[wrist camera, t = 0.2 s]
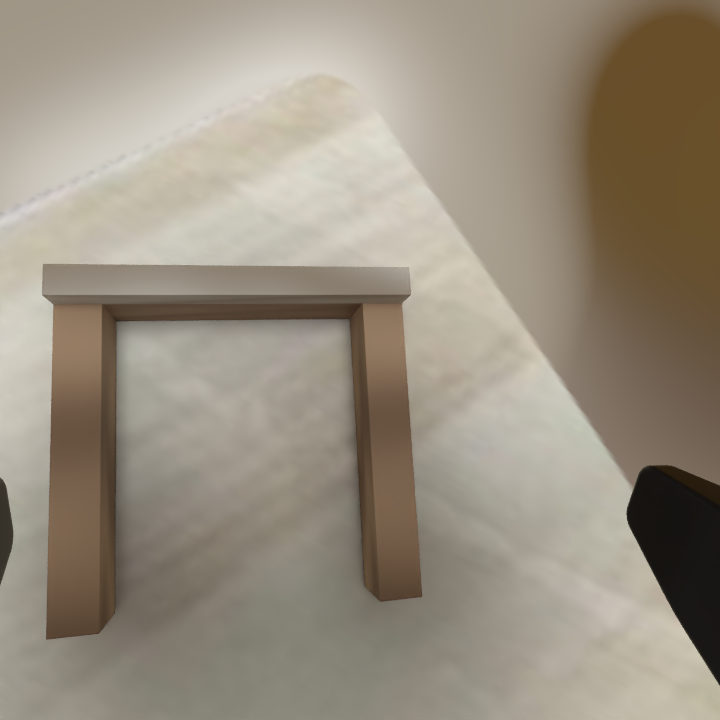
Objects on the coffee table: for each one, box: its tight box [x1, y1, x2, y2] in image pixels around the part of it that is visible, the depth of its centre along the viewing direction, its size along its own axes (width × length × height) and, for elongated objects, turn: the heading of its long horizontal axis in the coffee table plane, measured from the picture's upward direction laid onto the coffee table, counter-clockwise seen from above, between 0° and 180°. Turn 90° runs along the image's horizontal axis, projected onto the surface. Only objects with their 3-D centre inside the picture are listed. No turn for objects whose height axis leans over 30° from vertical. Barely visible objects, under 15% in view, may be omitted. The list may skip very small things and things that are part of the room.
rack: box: [42, 264, 422, 640], centre depth 21 cm, size 12×12×4 cm
